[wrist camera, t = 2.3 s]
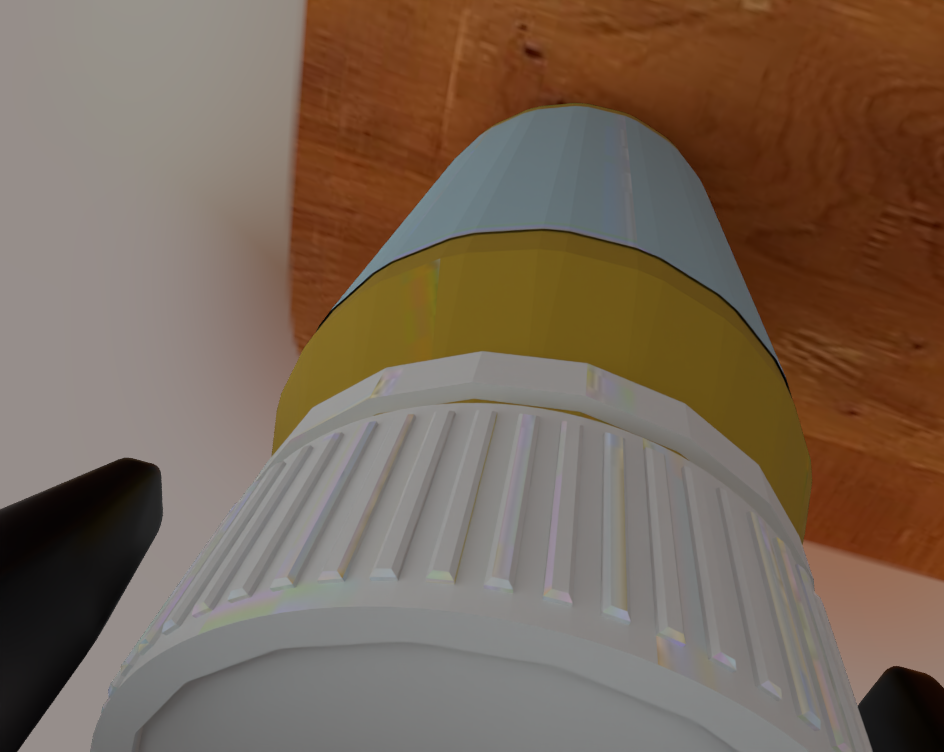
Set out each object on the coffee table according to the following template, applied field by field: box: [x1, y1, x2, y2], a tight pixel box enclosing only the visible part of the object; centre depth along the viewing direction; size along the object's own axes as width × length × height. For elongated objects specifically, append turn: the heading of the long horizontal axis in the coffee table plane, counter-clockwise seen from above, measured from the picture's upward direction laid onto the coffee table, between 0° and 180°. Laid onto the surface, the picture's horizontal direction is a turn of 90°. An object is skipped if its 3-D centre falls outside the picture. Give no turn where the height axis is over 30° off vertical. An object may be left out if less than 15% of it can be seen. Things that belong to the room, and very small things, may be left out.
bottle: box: [90, 103, 873, 752], centre depth 12 cm, size 7×7×15 cm
